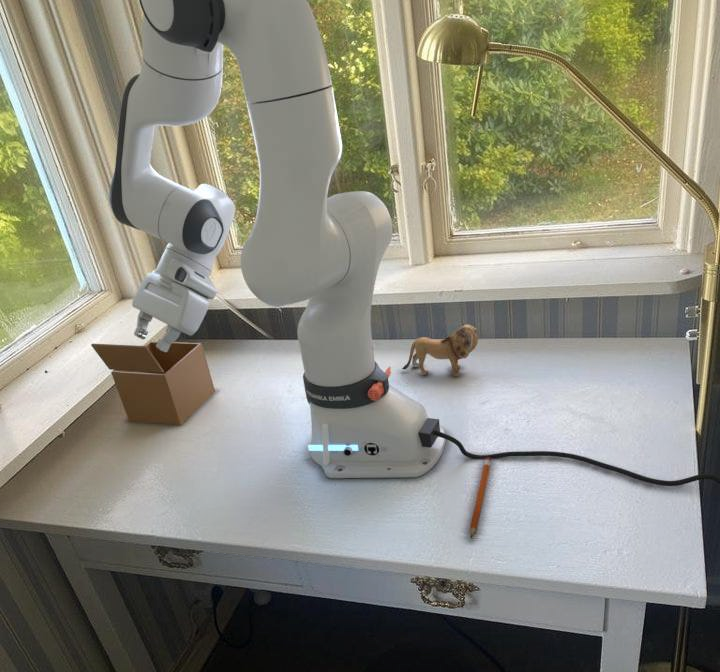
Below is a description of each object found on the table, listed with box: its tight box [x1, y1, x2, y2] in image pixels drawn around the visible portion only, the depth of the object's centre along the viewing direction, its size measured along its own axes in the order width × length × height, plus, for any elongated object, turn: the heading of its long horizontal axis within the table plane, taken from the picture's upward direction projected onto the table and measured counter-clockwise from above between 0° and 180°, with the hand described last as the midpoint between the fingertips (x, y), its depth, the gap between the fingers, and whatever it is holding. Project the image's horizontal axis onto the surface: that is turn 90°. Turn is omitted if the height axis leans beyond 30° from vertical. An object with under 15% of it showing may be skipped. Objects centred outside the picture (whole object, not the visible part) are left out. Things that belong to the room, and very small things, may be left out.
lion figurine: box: [401, 324, 479, 377], centre depth 136 cm, size 15×5×9 cm, turn 79°
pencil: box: [469, 457, 492, 539], centre depth 105 cm, size 1×19×1 cm, turn 165°
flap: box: [90, 343, 164, 373], centre depth 128 cm, size 12×6×1 cm
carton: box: [110, 340, 216, 426], centre depth 138 cm, size 12×13×10 cm
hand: (149, 343), depth 133 cm, fingers open, 8 cm apart
